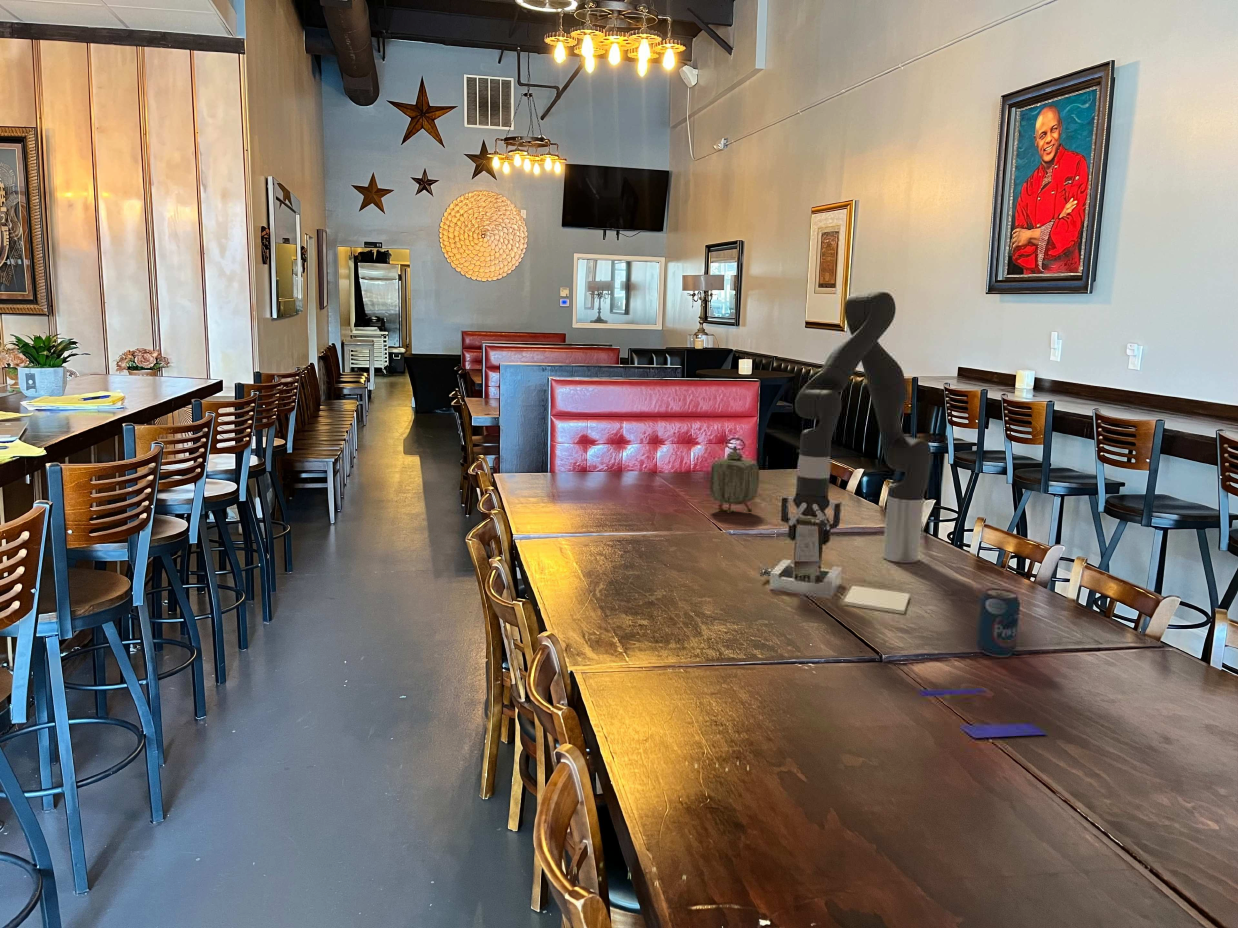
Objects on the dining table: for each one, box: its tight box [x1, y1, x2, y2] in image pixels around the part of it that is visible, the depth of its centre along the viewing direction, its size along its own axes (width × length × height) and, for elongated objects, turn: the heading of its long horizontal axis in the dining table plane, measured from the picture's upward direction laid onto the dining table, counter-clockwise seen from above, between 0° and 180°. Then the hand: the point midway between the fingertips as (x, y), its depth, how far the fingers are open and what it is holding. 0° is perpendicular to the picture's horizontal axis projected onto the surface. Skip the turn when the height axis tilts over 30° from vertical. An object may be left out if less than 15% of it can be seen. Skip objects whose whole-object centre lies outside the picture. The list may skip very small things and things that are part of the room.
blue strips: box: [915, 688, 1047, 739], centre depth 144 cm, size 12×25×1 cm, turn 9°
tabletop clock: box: [709, 437, 760, 513], centre depth 282 cm, size 14×9×25 cm, turn 58°
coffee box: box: [792, 516, 825, 583], centre depth 204 cm, size 9×6×16 cm
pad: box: [843, 585, 911, 615], centre depth 196 cm, size 13×13×1 cm
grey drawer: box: [759, 559, 843, 599], centre depth 206 cm, size 13×18×4 cm
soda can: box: [976, 587, 1021, 658], centre depth 166 cm, size 7×7×12 cm
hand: (808, 542), depth 203 cm, fingers closed on coffee box, 7 cm apart
